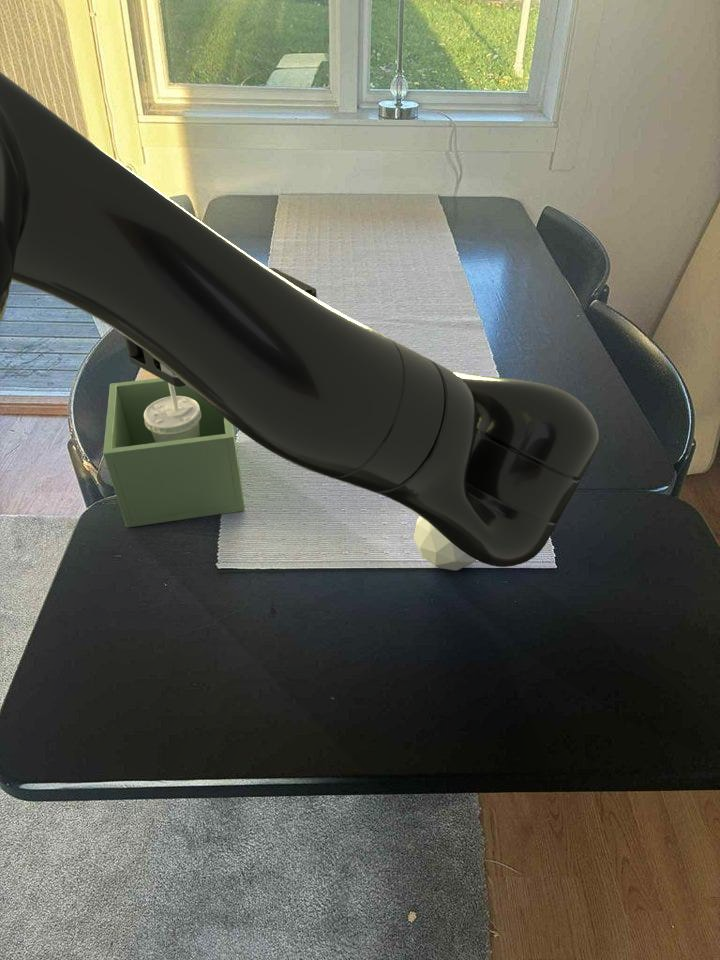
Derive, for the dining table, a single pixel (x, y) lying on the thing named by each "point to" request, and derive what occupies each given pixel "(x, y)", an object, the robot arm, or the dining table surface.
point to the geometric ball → (439, 548)
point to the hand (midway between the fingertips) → (168, 291)
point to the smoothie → (173, 418)
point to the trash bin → (169, 459)
